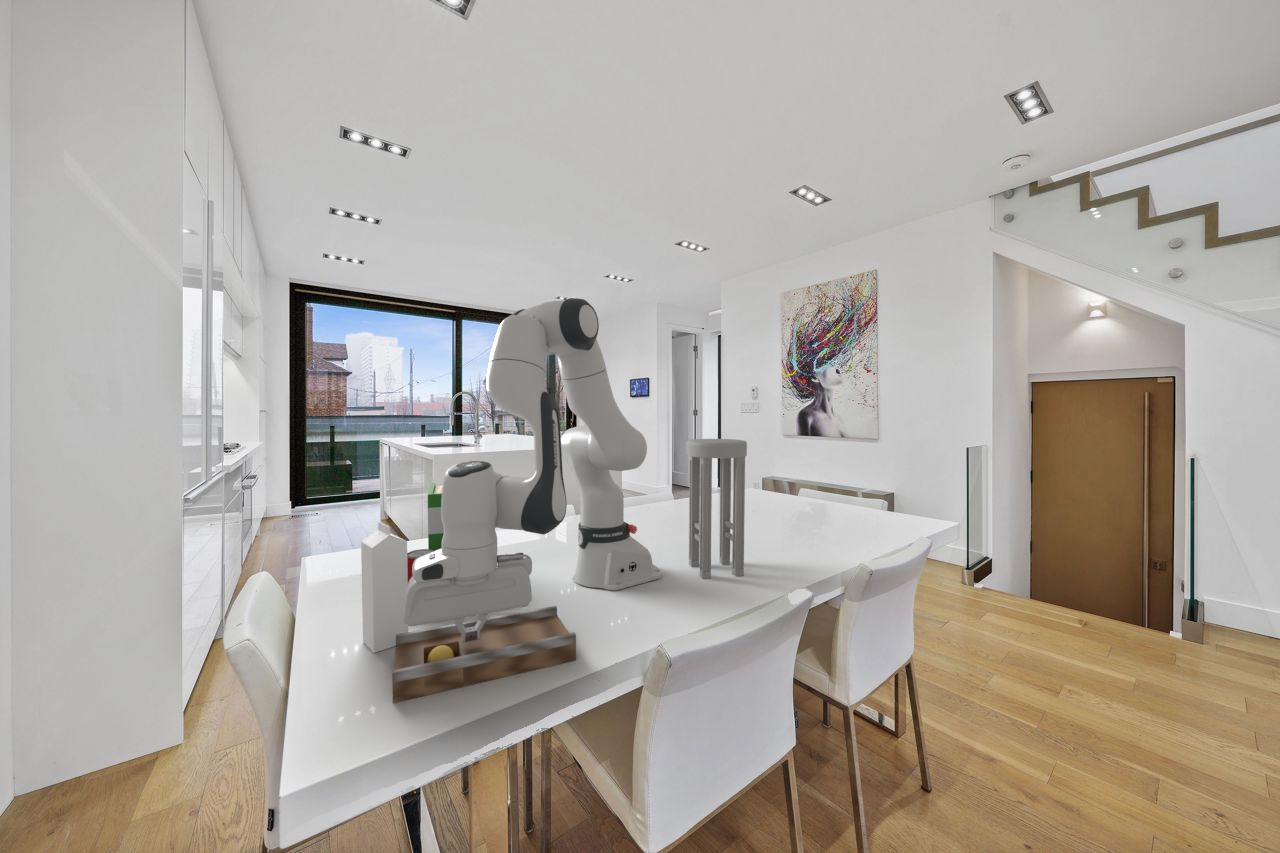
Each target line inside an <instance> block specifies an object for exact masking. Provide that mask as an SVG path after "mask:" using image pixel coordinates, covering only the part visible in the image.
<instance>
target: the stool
mask: <svg viewBox="0 0 1280 853" xmlns="http://www.w3.org/2000/svg"><path fill="white" fill-rule="evenodd" d="M685 445H686V446H685V447H686V449H685V450H686V453H685V455H686V456H689V482H688V483H689V484H688V487H689V490H688V491H689V494H688V495H689V496H688V497H689V498H688V499H689V506H688V510H689V511H688V514H689V515H688V516H689V517H688V566H690V567H691V568H695V567H699V577H700V578H701V579H702V580H705V579H712V508H713V507H712V505H713V504H712V498H713V497H712V496H713V495H712V494H713V492H712V488H713V482H712V481H713V459H720V467H719V468H720V470H719V471H720V474H719V476H720V478H719V480H720V481H719V485H720V487H719V489H720V490H719V492H720V493H719V558H718V559H719V562H718V563H719V564H721V565H722V566H723V565H724V566H726V565H731V564H732V565H731V567H732V568H731V570H732V571H731V574H732V575H733V576H734V577H743V576H745V573H744V572H745V571H744V570H745V511H746V510H745V502H746V500H745V496H746V488H745V487H746V457H747V456H748V455H747V454H748V442H747V441H746V440H741V439H731V438H694V439H689V440H687V441H686V444H685ZM732 459H733V461H732ZM732 462H733V464H732ZM732 466H733V468H732ZM732 470H733V471H732ZM732 474H733V475H732ZM732 476H733V478H732ZM732 479H733V480H732ZM731 495H732V496H731ZM731 498H732V499H731ZM731 501H732V502H731ZM731 503H732V504H731ZM731 506H732V508H731ZM731 510H732V511H731ZM731 512H732V513H731ZM731 514H732V515H731ZM731 518H732V521H731ZM731 531H732V533H731ZM731 542H732V543H731ZM731 544H732V551H731ZM731 552H732V557H731ZM731 558H732V560H731ZM731 562H732V563H731Z"/></svg>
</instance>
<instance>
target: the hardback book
mask: <svg viewBox="0 0 1280 853" xmlns="http://www.w3.org/2000/svg"><path fill="white" fill-rule="evenodd" d="M442 487H443V484H442V485H436V482H431V483H430V486H429V489H428V492H427V532H428V534H427V536H428V543H427V544H428V546H427V547H428V548H427V549H430V550H433V551H436V550H439V549H441V548H442V538H443V535H444V526H443V522H442V519H441V498H442Z"/></svg>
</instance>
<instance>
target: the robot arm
mask: <svg viewBox="0 0 1280 853" xmlns="http://www.w3.org/2000/svg"><path fill="white" fill-rule="evenodd" d="M599 324H600V323H599V317H598V314H597V312H596V309H595V308H594V307H593V306H592V305H591V304H590V303H589V302H588V301H587V300H586V299H583V298H577V297H570V298H569V297H568V298H566V299H563V300H562V299H561V300H553V301H551V300H550V301H546V302H543V303H541V304H538V305H534V306H531V307H528V308H523V309H518V311H517V310H516V311H515V312H513V313H512V314H510V315H509V316H507V317H505V318H504V319H503V320H502V321H501V323H500V324H499V326H498V329H497V331H496V334H495V337H494V340H493V344H492V347H491V350H490V354H489V361H488V365H487V366H488V367H487V372H486V377H485V378H486V379H485V384H486V392H487V394H488V396H489V398H490V399H491V401H492V402H493V403H494V405H495V406H497V407H498V408H500V409H501V410H502V411H504V412H505V413H507V414H510V415H512V416H514V417H516V418H519V419H521V420H524V421H525V422H527V423H528V424H529V425H530V427H531V429H532V431H533V432H532V433H533V444H534V445H533V447H534V473H533V475H532V476H510V475H503V474H501V473H498V472H496V471H494V467H493V465H492V464H491V463H490V462H489V461H485V460H470V461H466V462H463V461H462V462H459V463H456V464H454V465H452V466H450V467H449V468H448V469H447V470H446V471H445V474H444V479H443V483H442V485H443V487H442V498H441V519H442V522H443V526H444V535H443V538H442V548H441V549H439V550H436V551H434V552H431V553H429V554H426V555H424V556H421V557H419V558H417V559H416V560H415V561H414V563H413V566H412V575H413V576H412V577H411V579H410V580H409V583H408V586H407V591H406V597H405V606H404V622H405V623H406V624H407V625H408V627H415V626H416V627H417V626H421V625H422V626H423V625H427V624H428V625H429V624H432V623H433V624H434V623H439V622H444V621H448V620H449V621H451V620H454V624H455V625H456V627H457V628H458V630H459V631H460V632H461V640H462V643H464V642H468V641H474V640H479V639H480V630H481V629H482V627H483V625H484V623H485V622H486V620H487V618H488V614H490V613H496V612H502V611H506V610H507V611H509V610H513V609H518V608H525V607H528V606H529V605H530V603H531V602H532V599H533V596H532V595H533V594H532V585H531V579H530V575H531V574H532V571H533V560H532V558H531V557H530V556H529V555H528V554H524V553H523V552H515V553H509V554H507V553H505V554H498V536H497V532H496V528H497V529H502V530H513V531H524V532H528V533H531V534H532V533H533V534H538V535H546V534H548V533H551V532H552V531H553V530H555V529H556V528H557V527H559V525H561V523H562V522H563V521H564V519H565V517H566V514H567V504H568V503H567V495H566V493H567V492H566V487H565V483H564V475H563V474H564V472H563V460H564V461H566V462H567V464H568V465H569V467H570V468H571V471H572V473H573V476H574V479H575V482H576V485H577V489H578V495H579V523H578V530H577V542H578V548H579V549H578V556H577V557H578V558H577V564H576V566H575V571H574V576H573V580H574V582H575V583H577V584H579V585H581V586H583V587H588V588H594V589H595V588H596V589H597V588H598V589H605V590H609V591H618V590H622V589H626V588H630V587H634V586H637V585H641V584H644V583H648V582H652V581H655V580H656V581H657V580H659V579H662V571H661V569H660V568H659V567H658V566H656V565H655V564H653V559H652V554H651V552H650V551H649V549H648V548H647V547H646V546H644V545H643V544H642V543H640V542H639V541H637V540H636V539H635V538H634V537H632V536H631V534H633V535H635V534H637V532H638V527H637V526H636V525H634V524H630V523H628V522H625V521H624V514H625V513H624V507H625V506H624V502H625V501H624V500H625V499H624V497H625V496H624V493H623V490H622V489H621V488H620V486H618V485H617V483H615V481H614V480H613V477H612V474H611V472H610V471H617V472H623V471H629V470H630V471H631V470H635V469H638V468H639V467H641V465H642V464H643V463H644V461H645V459H646V456H647V453H648V446H647V445H648V444H647V441H646V437H645V436H644V435H643V433H642V432H641V431H639V430H638V429H637V428H636V427H634V426H633V425H632V424H631V423H630V422H629V420H627V418H626V417H625V416H624V414H623V413H622V411H621V410H620V408H619V405H618V404H617V402H616V399H615V397H614V394H613V390H612V387H611V384H610V382H611V381H610V380H609V379H610V378H609V375H608V371H607V370H608V369H607V366H606V362H605V359H604V355H603V353H602V349H601V347H600V344H599V342H598V340H597V338H598V335H599V328H600V327H599ZM552 355H556V357H557V363H558V364H557V365H558V368H559V374H560V377H561V381H562V385H563V390H564V393H565V397H566V402H567V404H568V407H569V409H570V411H571V412H572V413H573V414H574V415H575V416H577V417H578V418H579V419H580V420H581V421H582V422H583V425H578V426H574V427H571V428H570V427H569V428H568V429H567V430H565V431H564V432H563V433H562V435H561V423H560V413H559V407H558V403H557V401H556V398H555V397H554V396H553V395H552V394H550V393H549V392H548V389H547V385H546V369H547V356H552ZM472 616H477V620H478V621H477V623H476V625H475V626H474V627H469V628H465V627H464V625H463V624H462V623H464V622H465V618H467V617H472Z"/></svg>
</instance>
